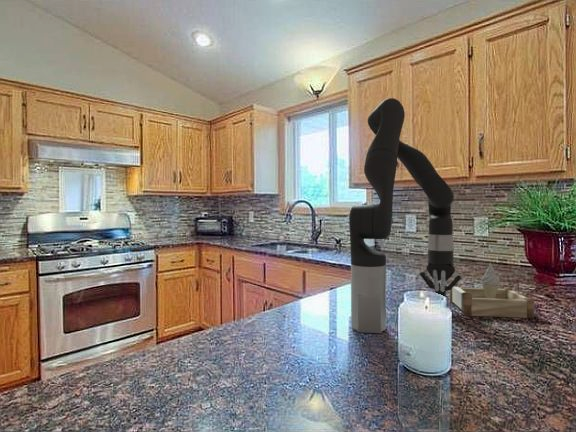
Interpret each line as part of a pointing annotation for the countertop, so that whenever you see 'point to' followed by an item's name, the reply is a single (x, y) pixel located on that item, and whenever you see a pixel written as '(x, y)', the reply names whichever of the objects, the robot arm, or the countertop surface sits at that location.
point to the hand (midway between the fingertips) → (440, 302)
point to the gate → (457, 297)
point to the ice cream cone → (490, 282)
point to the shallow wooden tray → (496, 303)
